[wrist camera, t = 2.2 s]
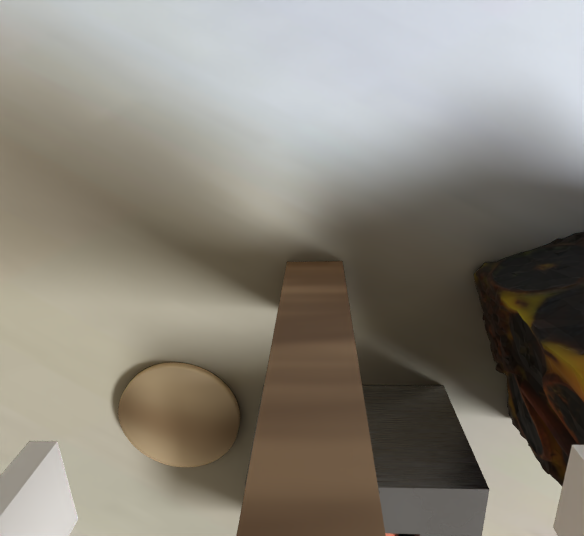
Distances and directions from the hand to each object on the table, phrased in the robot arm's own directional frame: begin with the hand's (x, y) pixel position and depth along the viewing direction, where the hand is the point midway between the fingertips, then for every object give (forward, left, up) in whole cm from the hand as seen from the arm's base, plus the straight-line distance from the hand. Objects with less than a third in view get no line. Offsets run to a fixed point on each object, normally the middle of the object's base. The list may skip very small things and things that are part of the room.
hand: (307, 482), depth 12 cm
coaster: (+8, -8, -12) cm, 16 cm away
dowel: (0, 0, -12) cm, 12 cm away
